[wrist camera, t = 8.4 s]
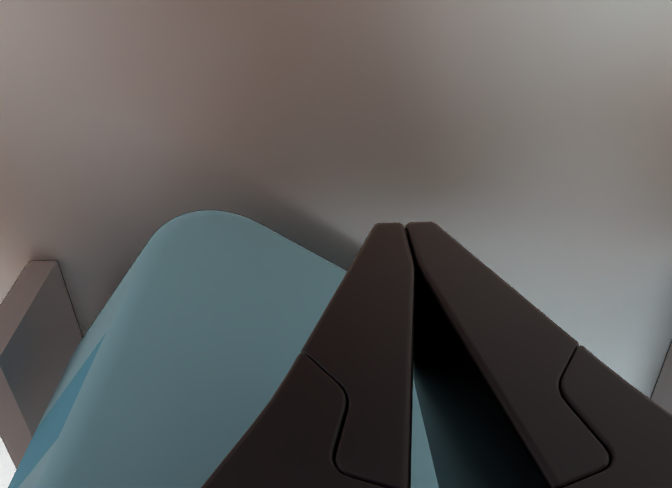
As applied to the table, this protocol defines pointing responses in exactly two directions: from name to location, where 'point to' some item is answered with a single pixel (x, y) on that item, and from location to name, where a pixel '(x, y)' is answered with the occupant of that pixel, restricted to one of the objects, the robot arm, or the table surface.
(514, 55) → the table surface
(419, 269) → the robot arm
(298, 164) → the table surface
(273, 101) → the table surface
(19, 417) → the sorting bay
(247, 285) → the data package
